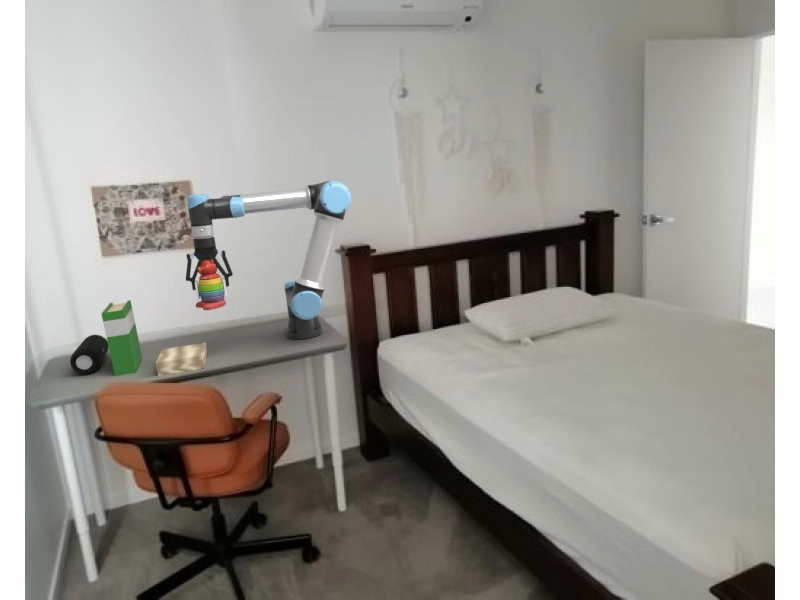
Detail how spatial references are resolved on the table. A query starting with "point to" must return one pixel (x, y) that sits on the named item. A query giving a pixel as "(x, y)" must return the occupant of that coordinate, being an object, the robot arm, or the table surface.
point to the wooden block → (181, 359)
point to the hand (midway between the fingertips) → (212, 296)
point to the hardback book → (122, 338)
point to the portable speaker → (89, 354)
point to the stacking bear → (210, 287)
